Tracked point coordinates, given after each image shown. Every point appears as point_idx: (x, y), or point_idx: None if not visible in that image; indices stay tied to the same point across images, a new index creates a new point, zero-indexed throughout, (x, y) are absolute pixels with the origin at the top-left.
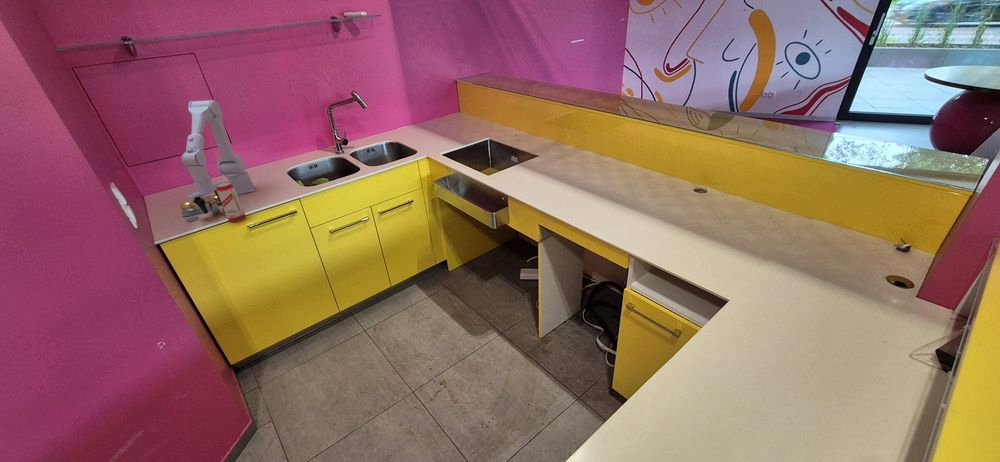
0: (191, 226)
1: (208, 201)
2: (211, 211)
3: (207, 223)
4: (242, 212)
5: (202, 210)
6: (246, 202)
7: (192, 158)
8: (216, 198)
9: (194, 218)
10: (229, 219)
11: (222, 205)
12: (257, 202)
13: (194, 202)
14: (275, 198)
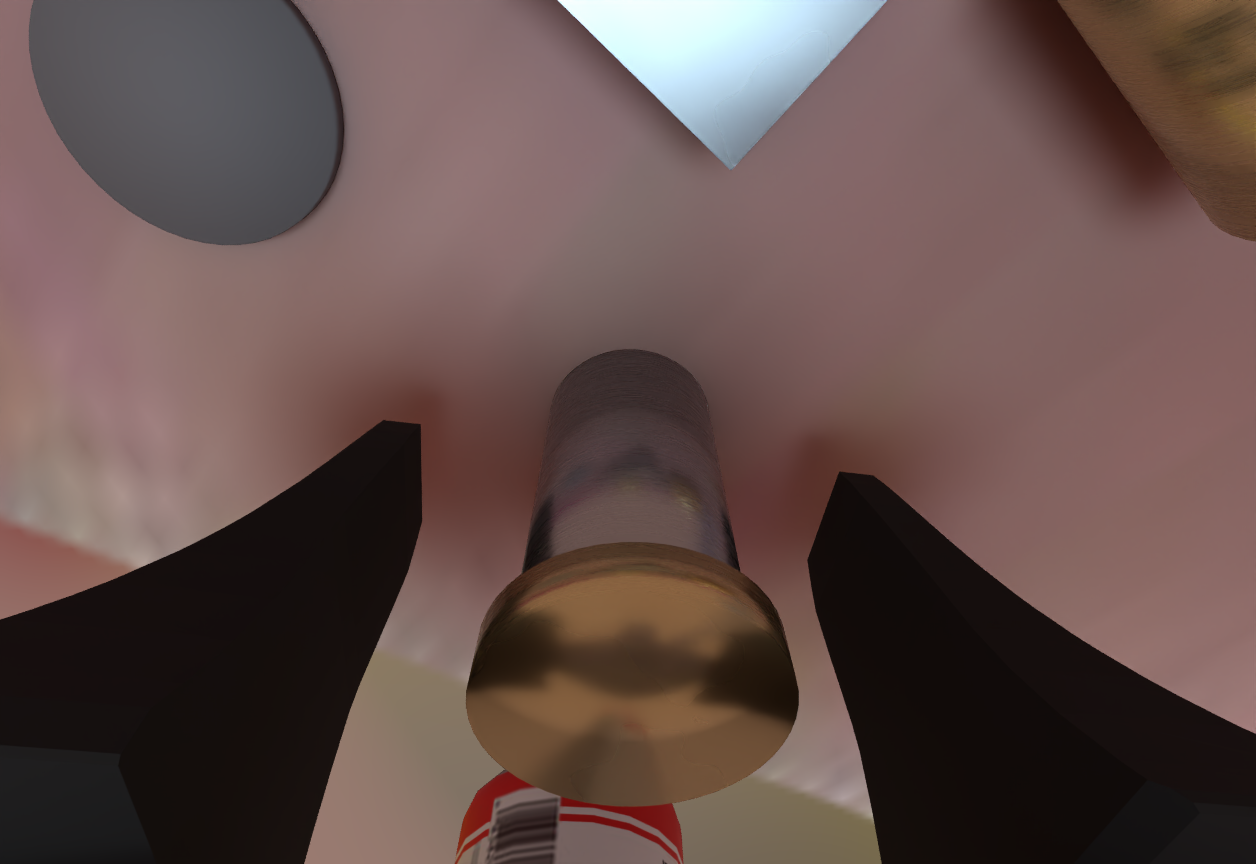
0: (38, 385)
1: (507, 731)
2: (543, 456)
3: None
4: None
5: (347, 456)
6: (1167, 560)
7: None
8: (1250, 92)
9: (227, 154)
10: (461, 834)
11: (820, 525)
12: None
13: (52, 625)
14: None
